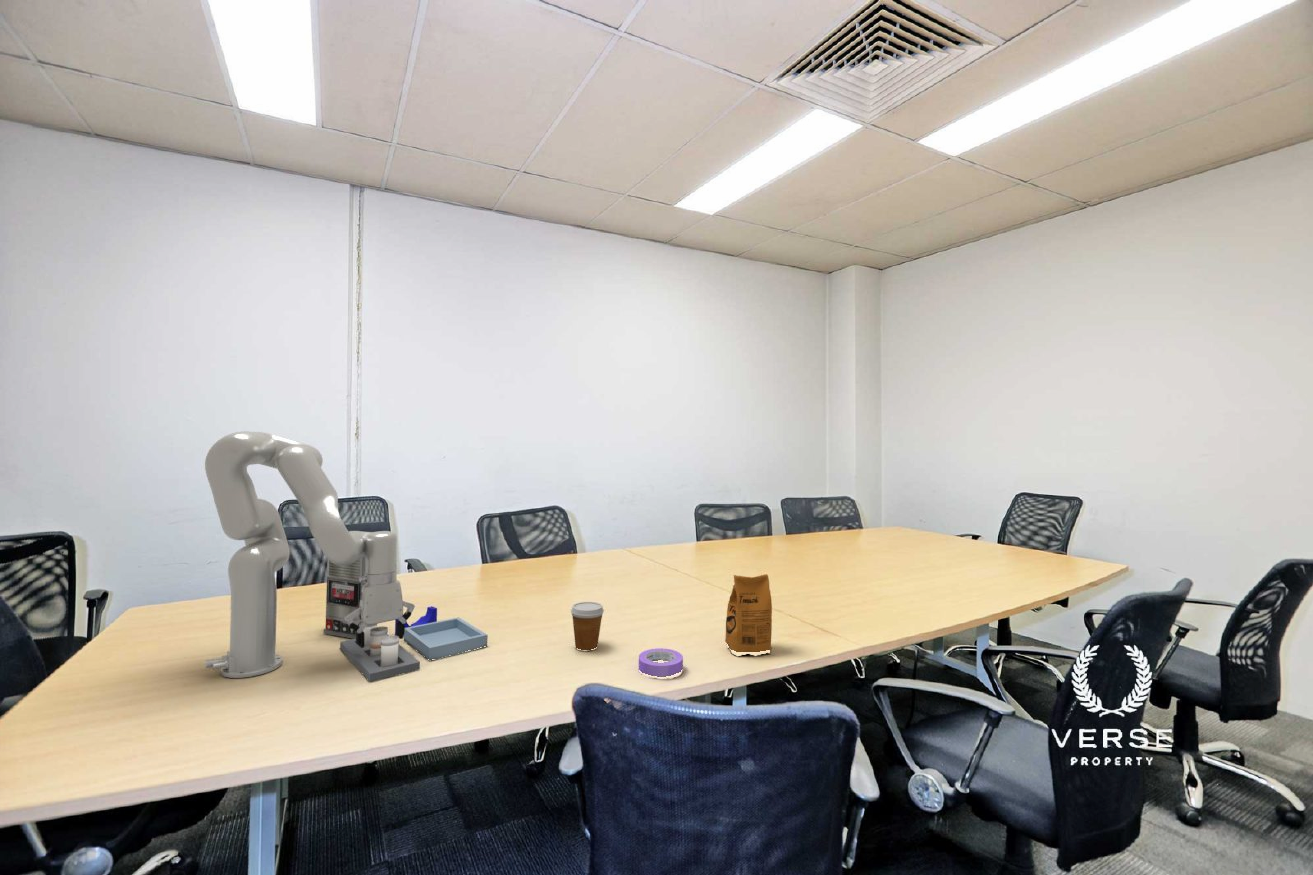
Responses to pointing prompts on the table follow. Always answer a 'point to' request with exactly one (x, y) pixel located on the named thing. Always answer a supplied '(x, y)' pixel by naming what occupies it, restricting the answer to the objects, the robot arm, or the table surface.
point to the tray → (444, 638)
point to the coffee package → (749, 615)
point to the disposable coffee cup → (586, 624)
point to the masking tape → (657, 668)
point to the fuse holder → (378, 661)
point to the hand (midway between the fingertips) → (380, 641)
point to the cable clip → (423, 618)
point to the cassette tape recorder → (343, 596)
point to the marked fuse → (377, 639)
